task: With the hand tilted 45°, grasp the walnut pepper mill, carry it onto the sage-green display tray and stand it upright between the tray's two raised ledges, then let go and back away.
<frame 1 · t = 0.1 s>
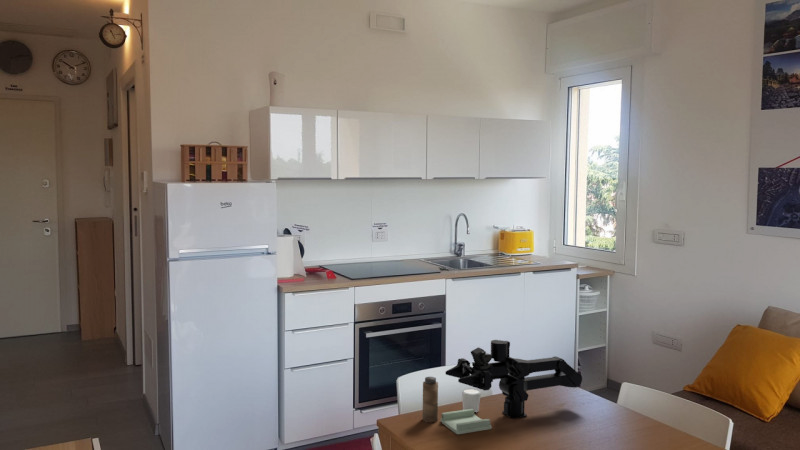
hand: (452, 376, 207), 17 cm above the table, tool horizontal, fingers open, 9 cm apart
pepper mill: (430, 419, 212), on the table
display tray: (465, 425, 207), on the table
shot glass: (470, 410, 222), on the table
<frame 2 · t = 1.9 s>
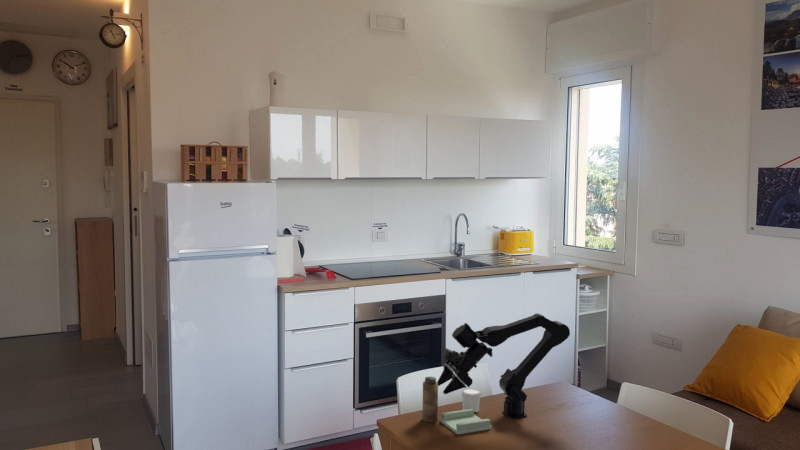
hand: (440, 389, 212), 11 cm above the table, tool tilted 45°, fingers open, 9 cm apart
nothing on the table moved.
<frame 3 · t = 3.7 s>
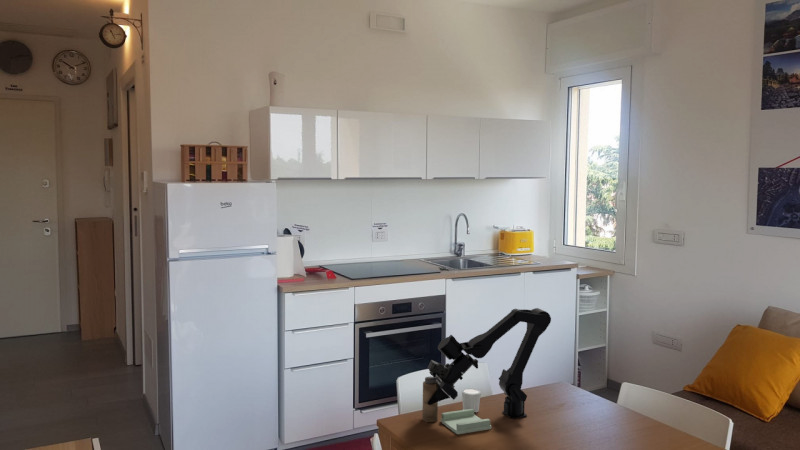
hand: (426, 401, 211), 7 cm above the table, tool tilted 45°, fingers closed on pepper mill, 5 cm apart
pepper mill: (429, 419, 212), on the table, touching gripper
everything else where it was.
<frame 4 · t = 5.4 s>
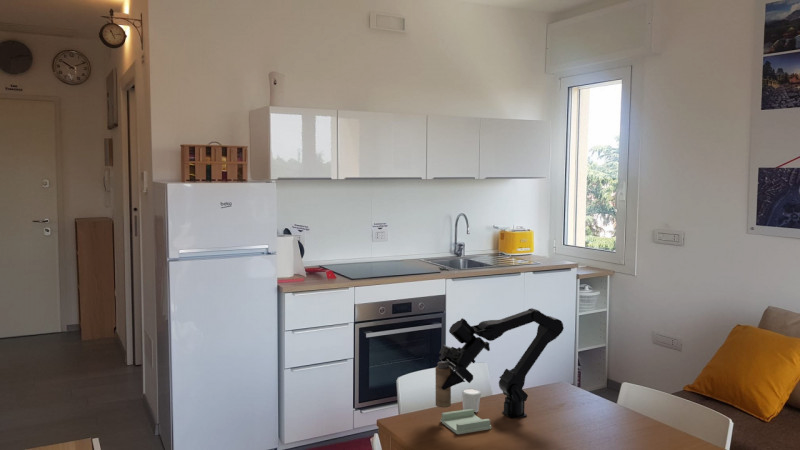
hand: (439, 386, 209), 13 cm above the table, tool tilted 45°, fingers closed on pepper mill, 5 cm apart
pepper mill: (443, 405, 210), point 6 cm above the table, touching gripper
everything else where it was.
when the fingers open (9 cm above the table, at t = 7.3 s): pepper mill drops 1 cm, resting on display tray.
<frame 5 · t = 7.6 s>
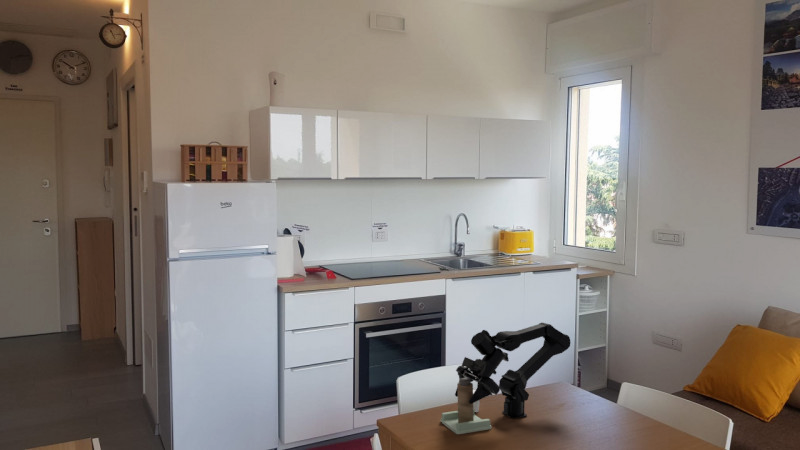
hand: (462, 399, 206), 9 cm above the table, tool tilted 45°, fingers open, 8 cm apart
pepper mill: (465, 422, 207), point 1 cm above the table, touching display tray
everything else where it was.
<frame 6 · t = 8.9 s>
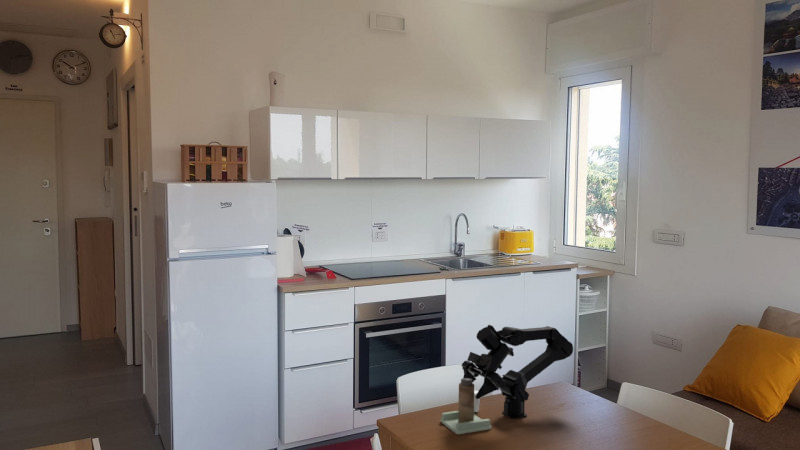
hand: (468, 394, 207), 11 cm above the table, tool tilted 45°, fingers open, 9 cm apart
nothing on the table moved.
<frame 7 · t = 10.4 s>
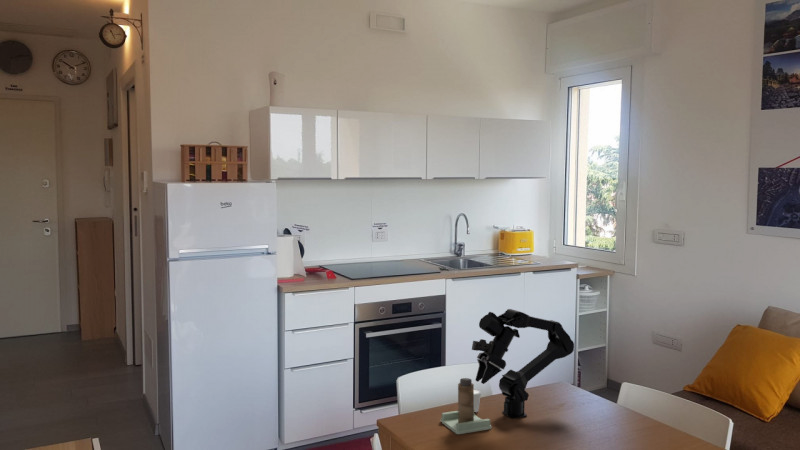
hand: (479, 382, 211), 14 cm above the table, tool tilted 35°, fingers open, 9 cm apart
nothing on the table moved.
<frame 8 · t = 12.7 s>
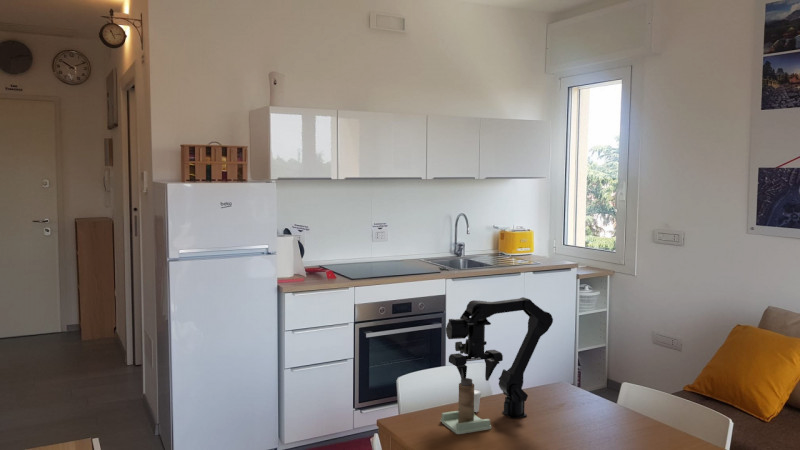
hand: (475, 382, 213), 13 cm above the table, tool pointing down, fingers open, 9 cm apart
nothing on the table moved.
at the end: pepper mill 0.1 cm off-centre on the display tray, point 1.0 cm above the display tray's base; pepper mill tilted 0°; the gripper is holding nothing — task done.
